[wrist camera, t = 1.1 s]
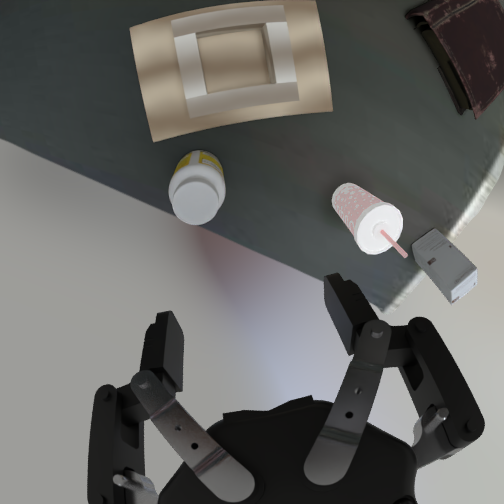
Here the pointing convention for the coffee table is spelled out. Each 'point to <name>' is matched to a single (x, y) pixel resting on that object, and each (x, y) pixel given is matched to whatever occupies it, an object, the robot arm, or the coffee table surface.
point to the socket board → (231, 65)
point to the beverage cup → (368, 219)
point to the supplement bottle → (197, 187)
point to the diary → (466, 48)
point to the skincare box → (445, 265)
